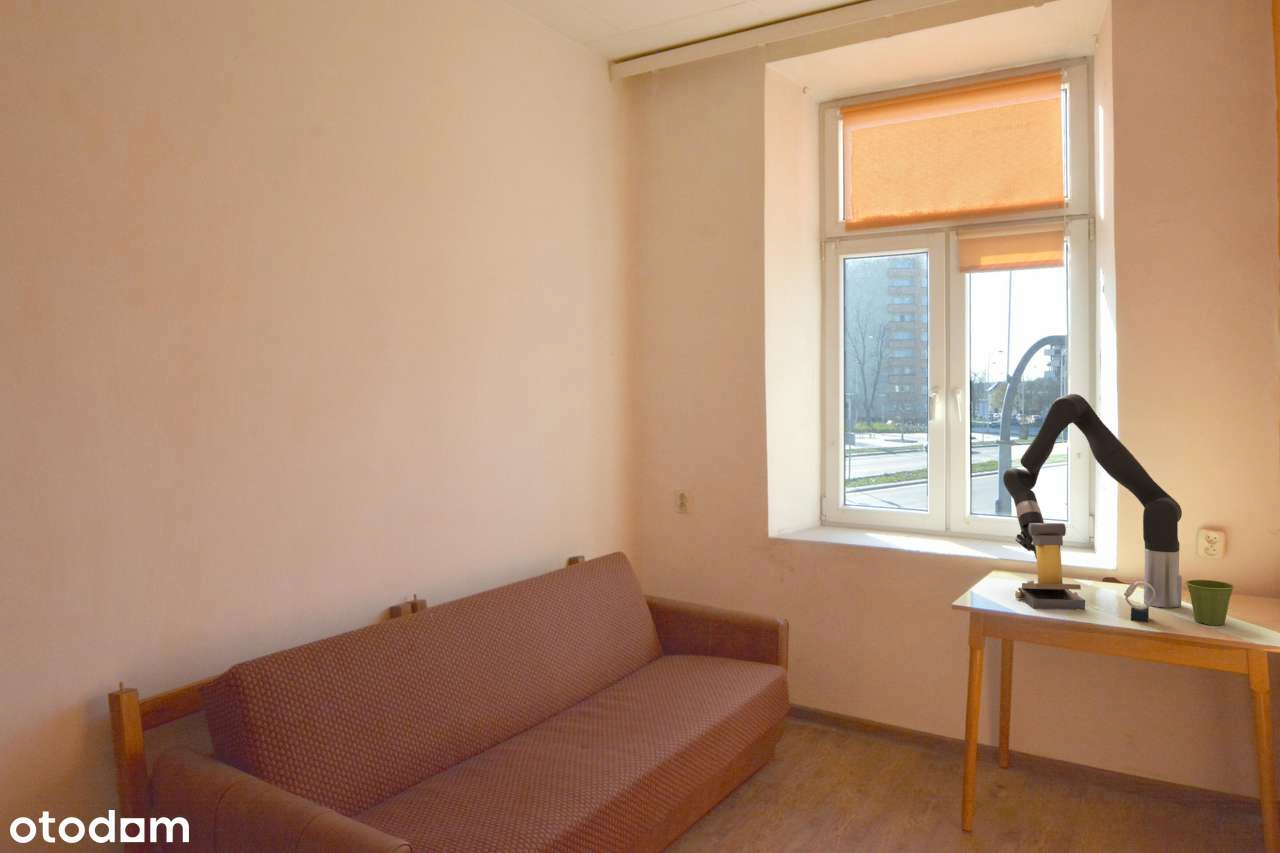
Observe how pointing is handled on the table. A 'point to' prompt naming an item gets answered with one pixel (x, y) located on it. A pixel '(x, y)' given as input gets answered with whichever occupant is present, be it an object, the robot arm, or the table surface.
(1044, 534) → the wooden pedestal stand
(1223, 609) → the plant pot
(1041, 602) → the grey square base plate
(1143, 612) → the watch
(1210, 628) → the table surface
